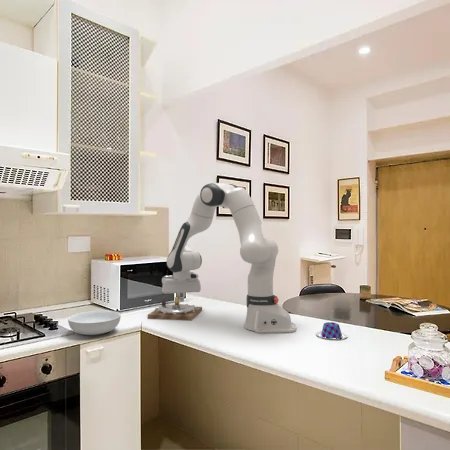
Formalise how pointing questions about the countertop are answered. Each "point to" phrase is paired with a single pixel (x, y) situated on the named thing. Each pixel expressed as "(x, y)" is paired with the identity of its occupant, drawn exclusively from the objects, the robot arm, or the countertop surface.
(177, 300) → the sprocket
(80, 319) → the serving bowl
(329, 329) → the purple domed brimmed piece
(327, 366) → the countertop surface
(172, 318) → the index board
